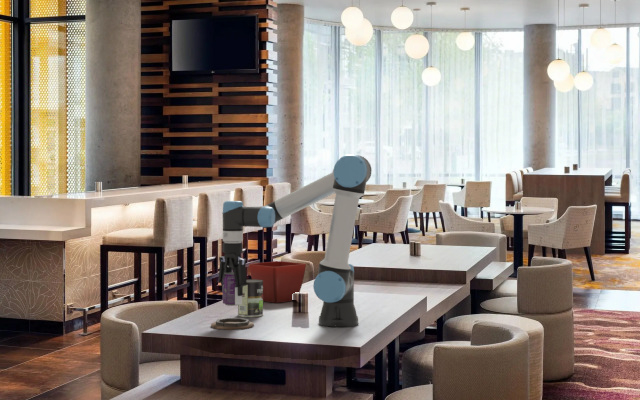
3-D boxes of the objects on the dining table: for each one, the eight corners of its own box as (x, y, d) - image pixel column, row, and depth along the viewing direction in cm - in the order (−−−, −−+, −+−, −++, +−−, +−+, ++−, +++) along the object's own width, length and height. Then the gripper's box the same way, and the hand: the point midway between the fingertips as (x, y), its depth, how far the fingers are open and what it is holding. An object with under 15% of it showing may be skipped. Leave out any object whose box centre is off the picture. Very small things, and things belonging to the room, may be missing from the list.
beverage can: (232, 302, 317) (232, 271, 317) (245, 304, 313) (245, 272, 312) (218, 304, 312) (218, 272, 311) (232, 306, 307) (232, 274, 307)
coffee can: (266, 313, 341) (266, 279, 341) (259, 317, 331) (259, 282, 331) (241, 312, 343) (241, 278, 343) (234, 317, 333) (234, 281, 333)
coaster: (262, 326, 312) (262, 321, 312) (227, 331, 301) (227, 326, 301) (236, 320, 324) (236, 315, 324) (202, 325, 313) (202, 320, 313)
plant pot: (247, 300, 378) (247, 263, 378) (280, 296, 391) (280, 260, 391) (274, 305, 364) (274, 266, 364) (307, 301, 377) (307, 263, 377)
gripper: (208, 240, 316) (208, 301, 317) (240, 244, 302) (240, 307, 302) (225, 240, 322) (224, 299, 322) (257, 243, 307) (256, 305, 307)
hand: (232, 303), depth 312 cm, fingers closed on beverage can, 7 cm apart
